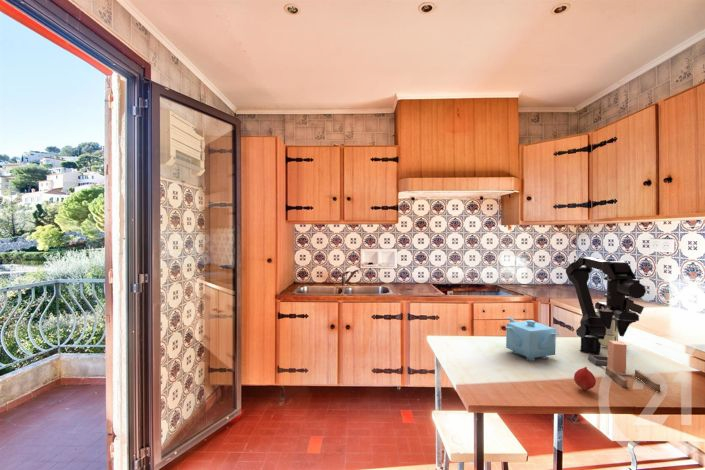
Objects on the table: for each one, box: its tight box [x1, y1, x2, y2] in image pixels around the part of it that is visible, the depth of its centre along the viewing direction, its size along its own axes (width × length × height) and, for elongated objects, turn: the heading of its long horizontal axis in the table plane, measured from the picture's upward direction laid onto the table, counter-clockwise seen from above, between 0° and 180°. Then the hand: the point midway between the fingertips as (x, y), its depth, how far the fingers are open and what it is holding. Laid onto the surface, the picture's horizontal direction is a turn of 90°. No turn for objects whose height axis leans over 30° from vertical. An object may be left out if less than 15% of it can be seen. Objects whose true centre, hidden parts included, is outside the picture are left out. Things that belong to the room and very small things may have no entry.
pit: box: [587, 354, 608, 367], centre depth 126 cm, size 6×10×2 cm, turn 76°
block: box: [607, 340, 628, 373], centre depth 119 cm, size 4×4×10 cm
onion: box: [573, 366, 597, 392], centre depth 104 cm, size 6×6×8 cm
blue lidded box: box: [505, 316, 559, 362], centre depth 133 cm, size 19×19×15 cm
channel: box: [604, 367, 661, 393], centre depth 110 cm, size 11×10×2 cm
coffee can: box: [595, 311, 619, 349], centre depth 148 cm, size 10×10×14 cm
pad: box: [600, 366, 633, 377], centre depth 119 cm, size 6×7×1 cm
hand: (614, 332), depth 124 cm, fingers open, 9 cm apart
